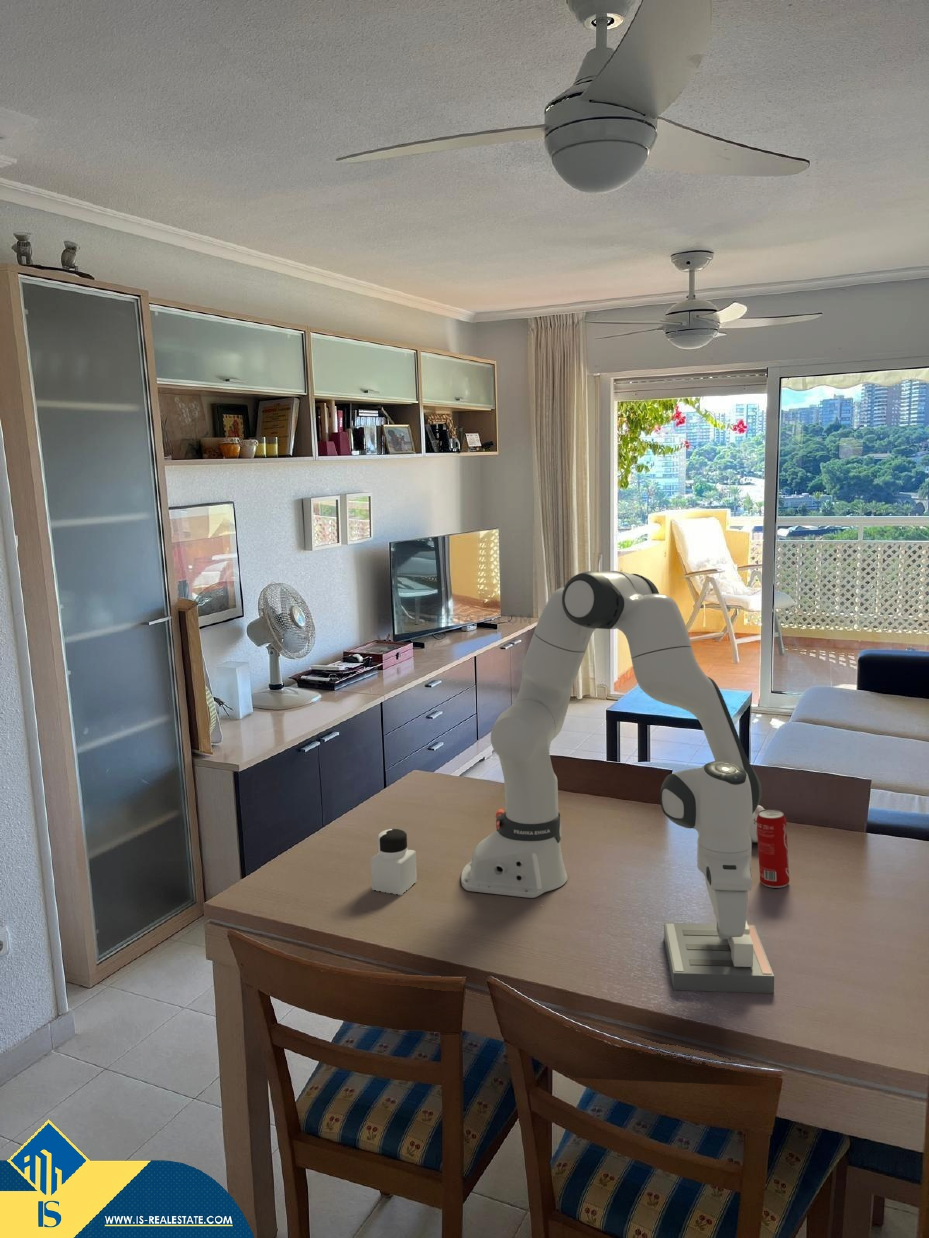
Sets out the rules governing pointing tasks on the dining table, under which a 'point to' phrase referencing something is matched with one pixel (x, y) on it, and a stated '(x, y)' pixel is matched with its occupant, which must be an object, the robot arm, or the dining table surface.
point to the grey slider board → (713, 961)
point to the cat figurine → (755, 824)
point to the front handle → (742, 951)
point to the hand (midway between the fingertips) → (723, 934)
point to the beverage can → (772, 848)
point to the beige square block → (747, 932)
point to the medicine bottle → (393, 863)
